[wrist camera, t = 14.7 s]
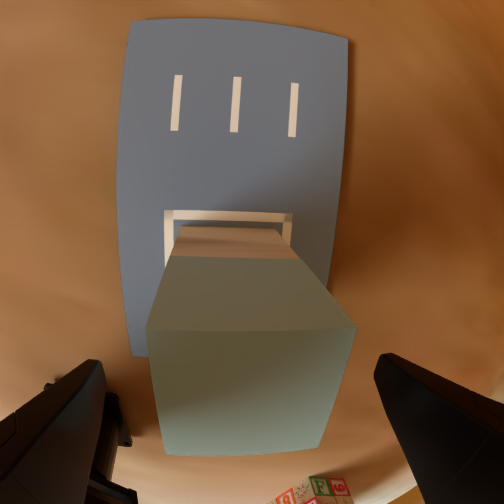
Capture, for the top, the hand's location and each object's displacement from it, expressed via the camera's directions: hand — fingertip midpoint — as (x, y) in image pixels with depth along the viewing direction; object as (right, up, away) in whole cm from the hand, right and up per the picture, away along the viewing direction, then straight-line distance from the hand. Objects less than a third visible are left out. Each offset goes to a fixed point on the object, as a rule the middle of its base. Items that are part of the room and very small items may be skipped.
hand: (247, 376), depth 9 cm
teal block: (-1, +1, +4) cm, 4 cm away
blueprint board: (-1, +7, +8) cm, 10 cm away
